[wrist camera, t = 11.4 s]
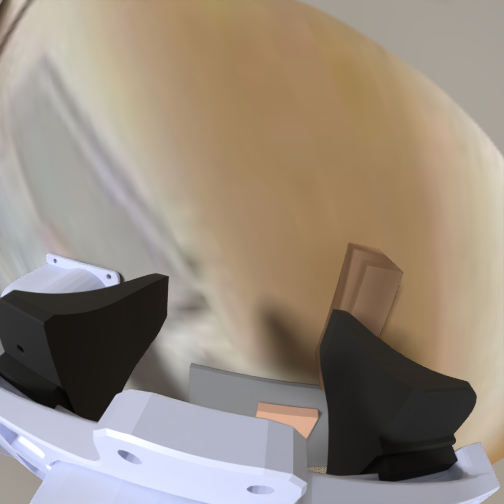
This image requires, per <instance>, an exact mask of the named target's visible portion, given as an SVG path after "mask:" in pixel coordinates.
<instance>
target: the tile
mask: <svg viewBox="0 0 504 504" xmlns="http://www.w3.org/2000/svg"><path fill="white" fill-rule="evenodd" d="M254 417H259V418H265V419H270V420H273V421H276V422H280V423H283V424H287V425H290V426H292V427H294V428H295V429H296V430H297V431H298V432H299V433H300V434H302V435H303V436H304V437H305V438H306V439H307V437H308V436H309V434H310V432H311V430H312V429H313V427H314V425H315V423H316V421H317V419H318V409H309V408H299V407H290V406H282V405H275V404H268V403H261V402H259V403H258V406H257V410H256V413H255V416H254Z"/></svg>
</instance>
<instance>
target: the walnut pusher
mask: <svg viewBox="0 0 504 504" xmlns="http://www.w3.org/2000/svg"><path fill="white" fill-rule="evenodd" d="M402 275H403V272H402V271H401V270H400V269H399V268H398V267H397V266H396V265H395V264H394V263H393V262H392V261H391V260H390V259H389V258H388V257H387V256H386V255H385V254H384V253H383V252H381V251H380V250H379V249H376V248H372V247H367V246H362V245H358V244H353V243H349V244H348V248H347V252H346V255H345V259H344V263H343V267H342V270H341V274H340V277H339V281H338V284H337V288H336V291H335V294H334V298H333V301H332V304H331V307H330V310H329V314H328V317H327V320H326V323H325V326H324V329H323V332H322V335H321V338H320V341H319V343H318V346H317V349H316V352H315V353H316V360H317V367H318V375H319V382H320V390H321V391H325V389H324V384H323V378H322V373H321V367H320V344H321V342H322V339H323V336H324V333H325V331H326V328H327V325H328V322H329V319H330V316H331V313H332V310H333V309H338V310H344V311H347V312H349V313H350V314H351V315H353V316H354V317H355V318H356V319H357V320H358V321H360V322H361V323H362V324H363V325H364V326H365V327H366V328H367V329H369V330H370V331H371V332H372V333H373V334H374V335H376V336H377V337H378V338H379V335H380V333H381V331H382V328H383V326H384V323H385V321H386V318H387V316H388V313H389V311H390V308H391V306H392V303H393V300H394V298H395V295H396V292H397V289H398V286H399V284H400V281H401V278H402Z"/></svg>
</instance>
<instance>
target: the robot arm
mask: <svg viewBox="0 0 504 504" xmlns="http://www.w3.org/2000/svg"><path fill="white" fill-rule="evenodd" d="M56 260H57V261H56ZM46 261H47V264H45V265H43V266H41V267H39V268H37V269H36V270H34V271H32V272H30V273H28V274H27V275H25V276H23V277H21V278H19V279H18V280H16V281H14V282H12V283H11V284H10V285H8V286H7V288H6V289H5V290H4V292H3V293H2V295H1V297H0V454H1V455H4V456H8V457H15V458H16V459H17V460H18V461H19V462H20V463H22V464H23V465H24V466H25V467H27V468H28V469H29V470H30V471H31V472H33V473H34V474H35V475H37V476H38V477H39V478H41V479H42V480H43V482H42V484H41V486H40V487H39V489H38V491H37V492H36V494H35V496H34V497H33V499H32V500H31V502H30V504H479V503H481V502H482V501H484V500H485V499H486V498H488V497H489V496H490V495H492V494H493V493H494V492H495V491H497V490H498V489H499V487H500V485H499V482H498V480H497V477H496V475H495V473H494V470H493V468H492V466H491V463H490V461H489V459H488V457H487V455H486V453H485V451H484V448H483V446H482V444H481V442H478V443H474V444H471V445H467V446H464V447H461V448H459V449H458V450H456V451H455V452H454V449H453V447H452V445H454V444H455V443H456V439H455V437H454V433H455V432H456V431H457V430H458V429H459V427H460V426H461V425H462V424H463V423H464V421H465V420H466V419H467V418H468V416H469V415H470V414H471V412H472V411H473V408H474V406H475V404H476V399H477V396H476V393H475V391H474V390H473V388H472V387H471V385H470V384H469V383H468V382H467V381H464V380H460V379H456V378H453V377H449V376H446V375H443V374H440V373H438V372H435V371H432V370H430V369H428V368H426V367H423V366H421V365H419V364H417V363H416V362H414V361H412V360H410V359H408V358H406V357H405V356H403V355H402V354H400V353H398V352H397V351H395V350H394V349H392V348H391V347H390V346H388V345H387V344H386V343H384V342H383V341H382V340H381V339H379V338H378V337H377V336H376V335H374V334H373V333H372V332H371V331H370V330H369V329H367V328H366V327H365V326H364V325H363V324H362V323H361V322H360V321H358V320H357V319H356V318H355V317H354V316H353V315H351V314H350V313H349V312H347V311H344V310H338V309H333V310H332V313H331V316H330V319H329V322H328V325H327V328H326V331H325V333H324V336H323V339H322V342H321V344H320V367H321V373H322V378H323V384H324V389H325V395H326V401H327V408H328V459H327V472H326V474H324V473H319V472H314V471H309V470H307V451H306V438H305V437H304V436H303V435H302V434H300V433H299V432H298V431H297V430H296V429H295V428H294V427H292V426H290V425H287V424H283V423H280V422H276V421H273V420H270V419H265V418H259V417H253V416H247V415H241V414H236V413H231V412H226V411H221V410H217V409H212V408H208V407H204V406H200V405H196V404H192V403H188V402H184V401H181V400H177V399H174V398H170V397H167V396H164V395H160V394H157V393H154V392H147V391H141V390H135V389H129V390H126V391H124V392H122V391H123V388H124V386H125V384H126V382H127V380H128V378H129V376H130V375H131V373H132V371H133V369H134V368H135V366H136V364H137V363H138V362H139V360H140V359H141V357H142V356H143V355H144V353H145V352H146V350H147V349H148V347H149V346H150V345H151V343H152V342H153V340H154V339H155V337H156V336H157V335H158V333H159V331H160V329H161V327H162V325H163V323H164V321H165V319H166V317H167V302H168V281H169V276H166V275H161V274H157V273H155V274H150V275H146V276H143V277H139V278H136V279H133V280H130V281H127V282H124V283H120V276H119V274H118V273H117V272H115V271H112V270H108V269H104V268H100V267H97V266H93V265H89V264H86V263H82V262H79V261H75V260H72V259H68V258H65V257H61V256H58V255H55V254H51V253H49V254H47V256H46ZM109 275H110V276H111V278H110V277H109Z"/></svg>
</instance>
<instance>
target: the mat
mask: <svg viewBox="0 0 504 504" xmlns="http://www.w3.org/2000/svg"><path fill="white" fill-rule="evenodd" d="M259 402H261V403H268V404H275V405H282V406H290V407H299V408H309V409H318V419H317V421H316V423H315V425H314V427H313V429H312V430H311V432H310V434H309V436H308V437H307V439H306V451H307V466H313V467H327V459H328V408H327V401H326V395H325V391H321V390H320V386H318V385H309V384H300V383H292V382H285V381H278V380H272V379H265V378H259V377H254V376H248V375H243V374H237V373H232V372H228V371H223V370H218V369H214V368H209V367H205V366H201V365H197V364H193V363H191V365H190V378H189V403H192V404H196V405H200V406H204V407H208V408H212V409H217V410H221V411H226V412H231V413H236V414H241V415H247V416H253V417H254V416H255V413H256V410H257V406H258V403H259Z"/></svg>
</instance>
